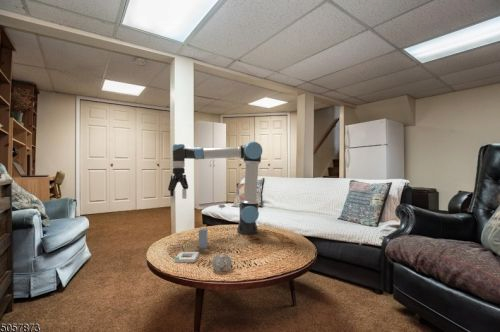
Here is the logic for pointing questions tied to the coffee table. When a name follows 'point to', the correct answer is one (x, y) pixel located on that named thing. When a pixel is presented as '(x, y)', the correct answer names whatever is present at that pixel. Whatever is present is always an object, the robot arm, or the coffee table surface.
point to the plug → (203, 238)
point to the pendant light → (221, 258)
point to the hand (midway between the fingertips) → (178, 199)
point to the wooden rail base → (203, 249)
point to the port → (186, 259)
